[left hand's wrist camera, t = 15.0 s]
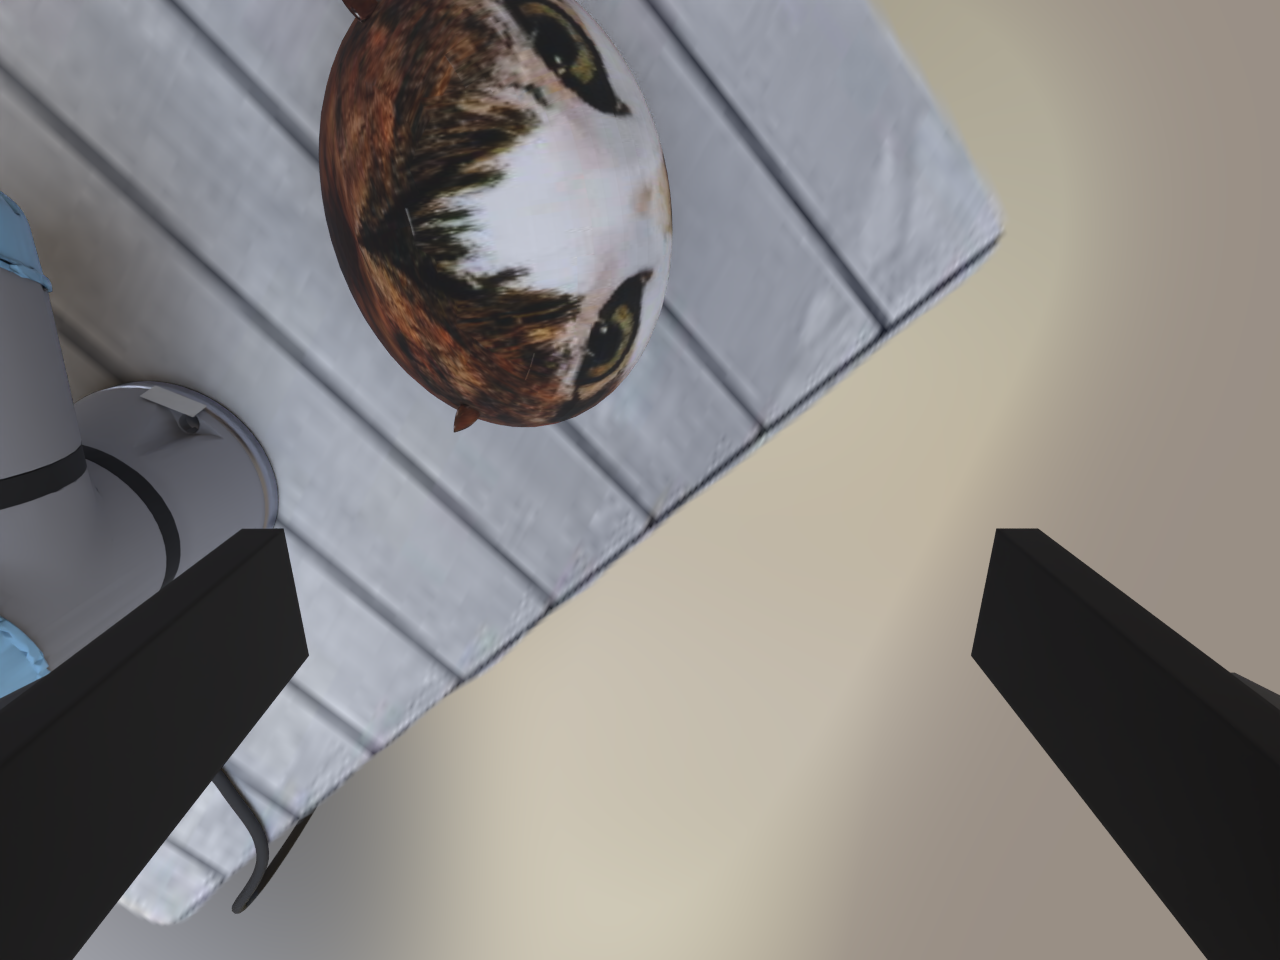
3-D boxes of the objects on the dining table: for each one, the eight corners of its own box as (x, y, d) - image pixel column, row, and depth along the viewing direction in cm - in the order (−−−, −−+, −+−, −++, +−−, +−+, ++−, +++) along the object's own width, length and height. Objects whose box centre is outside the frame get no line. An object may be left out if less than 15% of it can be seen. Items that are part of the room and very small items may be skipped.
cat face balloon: (778, 373, 42) (543, 501, 28) (575, 365, 53) (337, 454, 39) (746, -66, 34) (392, -184, 20) (514, 35, 45) (187, 4, 31)
